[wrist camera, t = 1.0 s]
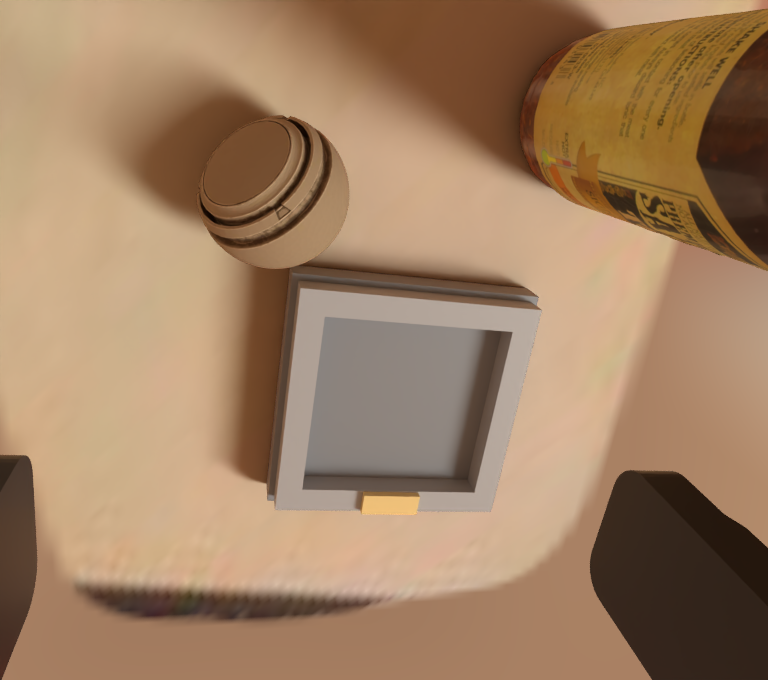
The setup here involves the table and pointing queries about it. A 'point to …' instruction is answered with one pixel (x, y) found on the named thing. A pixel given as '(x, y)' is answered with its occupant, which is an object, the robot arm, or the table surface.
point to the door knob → (274, 193)
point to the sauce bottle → (661, 129)
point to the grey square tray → (396, 391)
